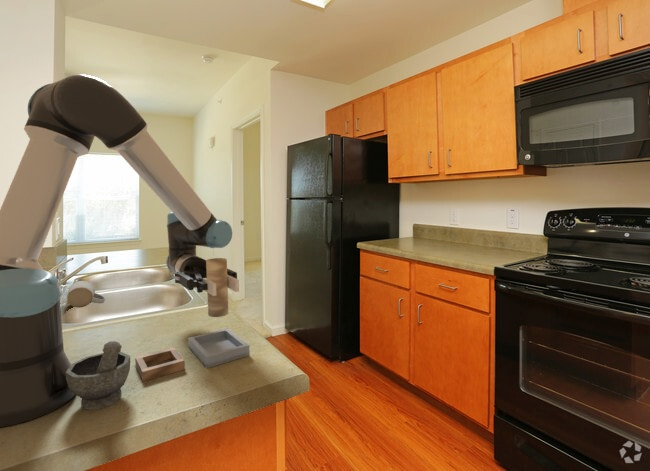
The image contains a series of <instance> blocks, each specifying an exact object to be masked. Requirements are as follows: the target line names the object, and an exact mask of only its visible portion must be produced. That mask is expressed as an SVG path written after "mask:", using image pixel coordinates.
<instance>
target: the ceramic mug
mask: <svg viewBox="0 0 650 471" xmlns="http://www.w3.org/2000/svg"><path fill="white" fill-rule="evenodd" d="M95 291H96V290H95V287H94V285H93V284H92V283H90V282H89V281H86V280H80V281H79V280H78V281H76V282H73V283H72V284H71V285H70V286H69V288H68V290H67V294H66V300H67V303H68V304H69V305H70V306H71V307H74V308H78V309H79V308H85V307H86V306H87V307H88V305H89V304H91V303H94V304H104V303H105V301H106V297H105V296H103V295H102V294H99V293H95Z"/></svg>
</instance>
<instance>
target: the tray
mask: <svg viewBox="0 0 650 471" xmlns="http://www.w3.org/2000/svg"><path fill="white" fill-rule="evenodd" d="M188 348H189V349H190V351H191V352H192V353H193V354H194V356H196V358H197V359H199V361H200V362H201V364H202V365H203V366H205V368H207V369H210V368H212V367H215V366H219V365H223V364H226V363H229V362H232V361H237V360H239V359H240V360H241V359H243V358H246V357H250V344H248V343H247V342H246V341H244V340H243V339H242V338H240V336H238V335H237V334H235V332H233V331H232V330H230V329H229V328H224V329H220V330H215V331H212V332H207V333H203V334H199V335H194V336H190V337H188Z"/></svg>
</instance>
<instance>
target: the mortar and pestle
mask: <svg viewBox="0 0 650 471" xmlns="http://www.w3.org/2000/svg"><path fill="white" fill-rule="evenodd" d="M122 348H123V347H122V344H121V343H120V342H118V341H116V340H113V341H108V342H106V343H104V345H103V347H102V353H97V354H92V355H89V356H86V357H83V358H81V359H80V360H77V361H75V362H74V363H71V365H70V367H69V368H68V370H67V371H66V381H67V384H68V387H69V388H70V390H71V391H72V392H73V393H74V394H75V395H76V396H78V398H80V399H81V401H80V404H81V407H82V408H83V409H85V410H99V409H102V408H106V407H110V406H111V405H114V403H116V402H117V401H119V400H120V399H121V396H122V387H123V386H124V385H125V383H126V381H127V379H128V376H129V373H130V369H131V355H129V354H127V353H125V352H122V351H121V350H122Z"/></svg>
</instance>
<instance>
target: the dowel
mask: <svg viewBox="0 0 650 471" xmlns="http://www.w3.org/2000/svg"><path fill="white" fill-rule="evenodd" d="M205 260H206V270H207V279H209V280H211V281H213V282H214V283H216V296H212V295H211V294H209V293H208V292H206V293H207V315H208V316H209V317H211V318H221V317H224V316H228V314H229V291H228V290H229V288H228V282H227V269H228V260H227V258H225V257H224V258H223V257H216V258H215V257H214V258H213V257H212V258H207V259H205Z"/></svg>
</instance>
